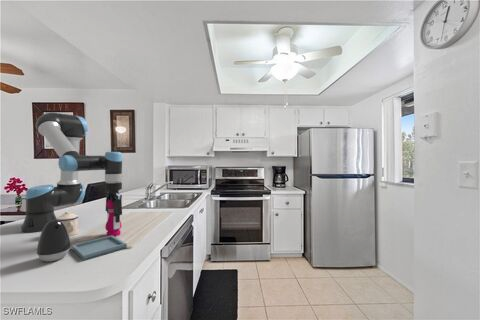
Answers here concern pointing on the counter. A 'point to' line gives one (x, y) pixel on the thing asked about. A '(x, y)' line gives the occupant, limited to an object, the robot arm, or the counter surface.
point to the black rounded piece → (53, 241)
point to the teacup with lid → (69, 222)
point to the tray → (98, 247)
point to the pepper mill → (111, 221)
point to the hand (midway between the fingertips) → (113, 227)
